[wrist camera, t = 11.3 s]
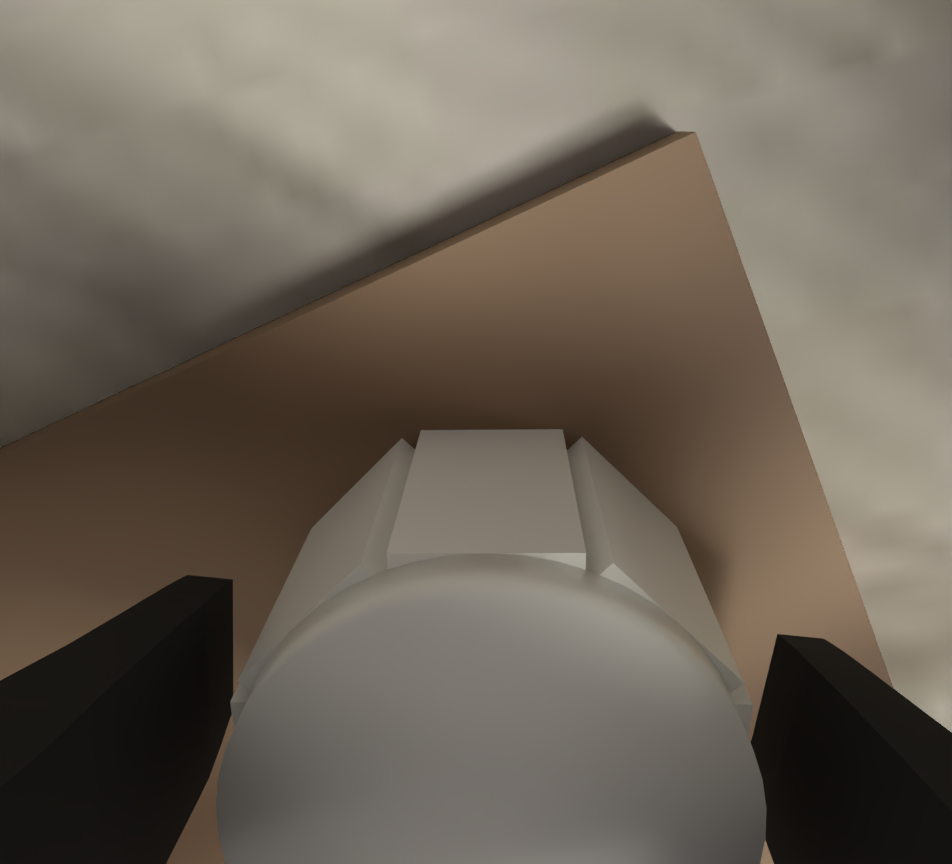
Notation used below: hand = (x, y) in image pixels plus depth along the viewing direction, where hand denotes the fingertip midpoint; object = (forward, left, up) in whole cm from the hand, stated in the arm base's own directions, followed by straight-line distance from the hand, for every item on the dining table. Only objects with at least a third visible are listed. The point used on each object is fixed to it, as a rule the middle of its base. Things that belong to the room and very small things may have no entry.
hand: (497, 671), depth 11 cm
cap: (0, 0, -2) cm, 2 cm away
